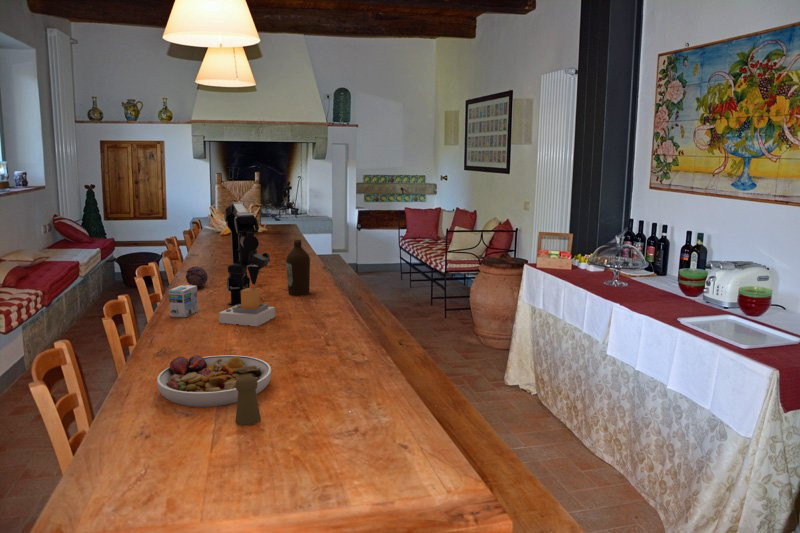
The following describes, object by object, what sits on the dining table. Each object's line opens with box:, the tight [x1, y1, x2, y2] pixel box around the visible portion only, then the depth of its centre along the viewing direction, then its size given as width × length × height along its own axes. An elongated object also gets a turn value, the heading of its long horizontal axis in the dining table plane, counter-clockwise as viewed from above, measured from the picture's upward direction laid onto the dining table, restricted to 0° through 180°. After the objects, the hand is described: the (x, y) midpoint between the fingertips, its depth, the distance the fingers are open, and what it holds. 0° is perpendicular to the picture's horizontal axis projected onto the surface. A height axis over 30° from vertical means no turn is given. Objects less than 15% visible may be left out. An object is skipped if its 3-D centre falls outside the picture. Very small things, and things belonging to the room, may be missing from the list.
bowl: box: [156, 354, 272, 408], centre depth 176 cm, size 30×30×8 cm
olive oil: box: [285, 238, 311, 297], centre depth 289 cm, size 11×11×25 cm
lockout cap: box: [241, 287, 261, 310], centre depth 245 cm, size 5×5×8 cm
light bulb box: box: [168, 284, 199, 318], centre depth 255 cm, size 11×7×11 cm, turn 168°
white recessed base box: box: [218, 303, 276, 327], centre depth 246 cm, size 14×16×6 cm
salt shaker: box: [234, 376, 262, 427], centre depth 155 cm, size 6×6×11 cm
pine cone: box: [185, 265, 209, 287], centre depth 303 cm, size 18×10×10 cm, turn 21°
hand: (247, 286), depth 247 cm, fingers open, 9 cm apart
